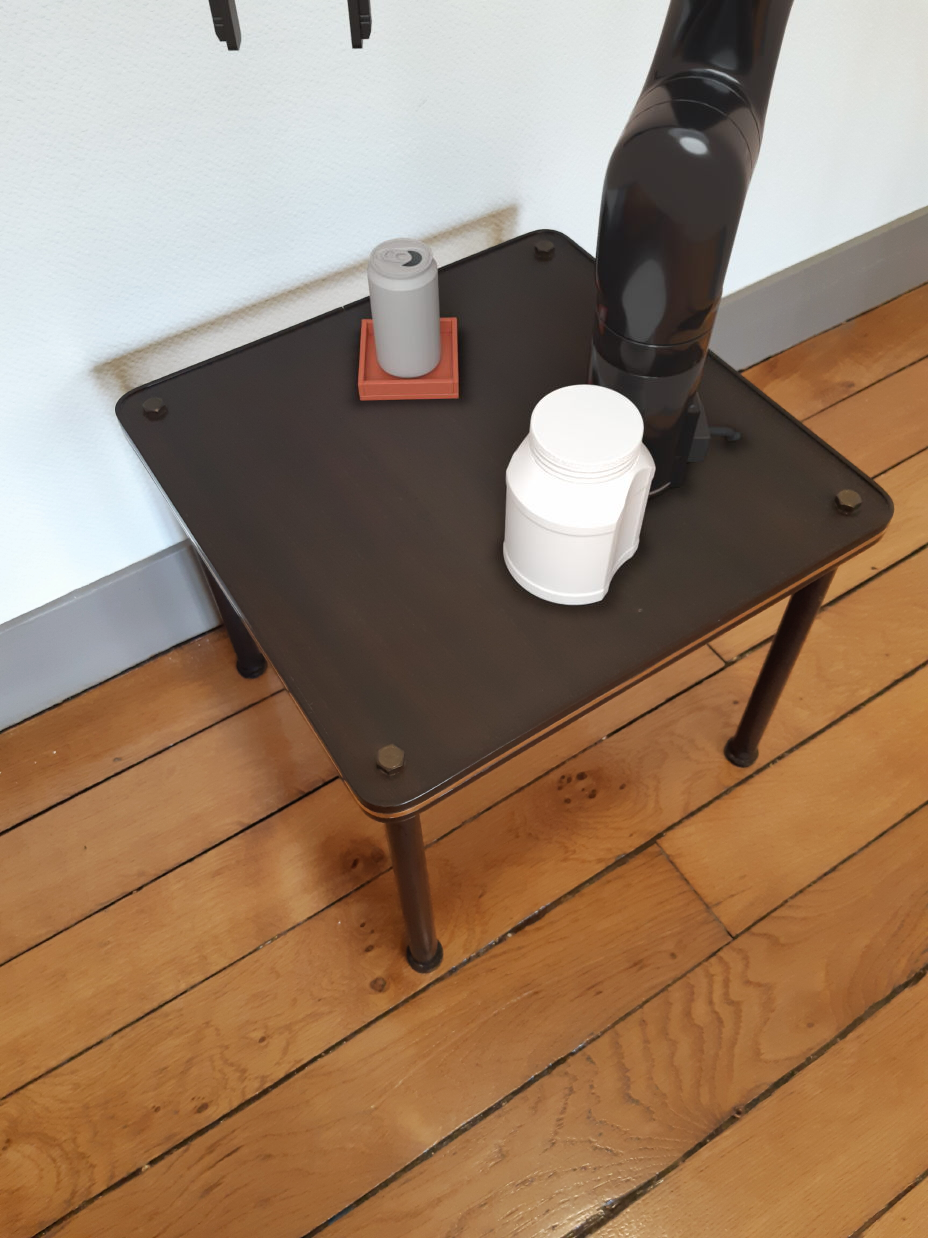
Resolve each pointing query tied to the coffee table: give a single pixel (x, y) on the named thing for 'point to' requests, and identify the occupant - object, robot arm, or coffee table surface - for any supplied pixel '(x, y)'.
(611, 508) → the jar
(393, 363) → the beverage can
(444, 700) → the coffee table surface
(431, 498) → the coffee table surface
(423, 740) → the coffee table surface
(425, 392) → the red tray
